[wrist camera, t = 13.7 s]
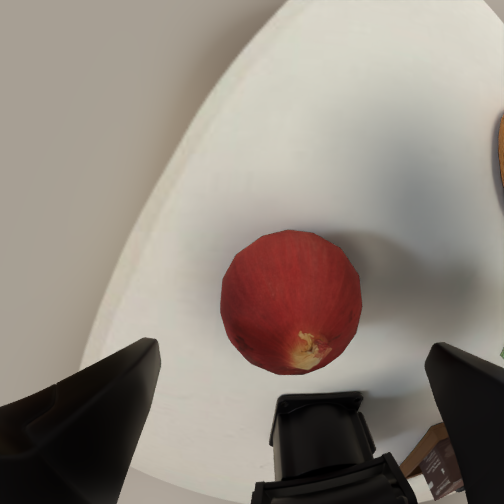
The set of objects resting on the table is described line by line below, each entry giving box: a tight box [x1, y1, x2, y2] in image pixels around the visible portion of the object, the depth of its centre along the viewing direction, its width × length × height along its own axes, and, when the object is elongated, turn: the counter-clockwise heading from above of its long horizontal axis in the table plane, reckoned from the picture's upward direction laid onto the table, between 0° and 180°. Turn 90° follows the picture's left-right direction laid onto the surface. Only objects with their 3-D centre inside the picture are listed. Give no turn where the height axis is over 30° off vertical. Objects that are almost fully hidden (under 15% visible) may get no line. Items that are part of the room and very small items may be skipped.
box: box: [419, 437, 464, 501], centre depth 17 cm, size 6×6×7 cm
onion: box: [220, 230, 362, 375], centre depth 11 cm, size 6×6×8 cm
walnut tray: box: [399, 422, 449, 479], centre depth 20 cm, size 10×10×2 cm
